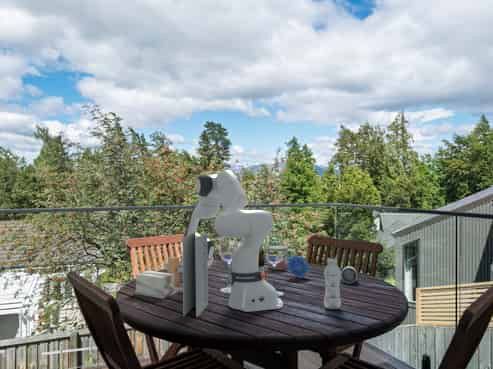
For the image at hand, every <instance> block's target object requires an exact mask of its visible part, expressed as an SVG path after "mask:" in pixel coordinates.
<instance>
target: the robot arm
mask: <svg viewBox="0 0 493 369" xmlns="http://www.w3.org/2000/svg"><path fill="white" fill-rule="evenodd" d="M194 185H195V186H194V187H195V192H196V193H197V195H198V196H199V197H198V202H197V205H196V206H194V207H193V208H192V210H191V212H190V215H189V219H188V222H187V226H186V228H185V229H186V230H185V231H184V234H183V237H185V236H187V235H190V234H192V233H195V234H196V237H198V236H201V235H202V234H200V233H198V231H197V230H198V227H199V223H200V220H208V219H209V220H210V219H212V218H215V219H214V222H213V223H214V224H213V225H214V231H215V233H216V234H217V235H218V236H219V237H221V238H227V239H237V238H238V239H239V238H242V242H241V243H240V244H239V245H238V246H237V247H234V248H233V249H232V252H231V270H230V277H229V278H230V279H229V280H230V285H231V287H230V296H229V300H228V307H229V308H232V309H233V310H240V311H243V312H246V313H248V312H258V311H267V310H277V309H283V307H284V303H283V300H282V299H281V298H280V297H278V293H277V289H276V288H275V287H274V286H273V285H271V284H270V283H269V282H268V281H266V280H265V278H266V274H265V272H264V271H262V270H260V269H259V261H260V260H259V258H260V250H261V247H262V244H263V242H264V240H265V239H266V237H268V235H269V234H271V232H272V231H273V228H274V224H275V221H274V217H273V215H272V213H270V212H269V211H267V210H261V209H252V210H251V209H250V210H249V209H247V210H244V208H245V207H246V205H247V203H248V196H247V194H246V192H245V189H244V188H243V186H242V181H241V179H240V178H239V176H238V175H237V174H235V173H234V172H233V171H231V170H227V169H224V170H221V171H220V172H218V173H210V174H200V175H199V176H198V177H196V179H195V184H194ZM221 205H222V209H221V212H220V208H221ZM181 241H182V244H183V240H182V239H181ZM207 245H208V268H209V267H210V266H212V265H213V263H214V255H215V251H216V245H215V242H214V240H213V239H210V238H209V237H207ZM163 265H164V266H163V267H164V270H167V272H168V261H165V262H164V263H163ZM176 272H179V273H183V259H182V260H179V268H176Z"/></svg>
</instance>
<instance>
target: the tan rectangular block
mask: <svg viewBox="0 0 493 369" xmlns="http://www.w3.org/2000/svg"><path fill="white" fill-rule="evenodd" d="M179 261H180V257H179V256H170V257H167V262H168V271H167V273H170V274H174V286H175V285H178V284H179V282H180V272H176V268H179Z"/></svg>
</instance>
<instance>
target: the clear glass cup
mask: <svg viewBox="0 0 493 369" xmlns="http://www.w3.org/2000/svg"><path fill="white" fill-rule="evenodd" d="M267 248H268V252H269V251H283V252H284V255H285V258H284V260H283V261H282V262H281V263H279V264H278V265H277V266H276V267H273V266H271V265H269V264H268V269H270V268H271V270H286V269H289V268H288V267H287V264H288V263H289V261H288V259H289V258H288V249H289V248H288V245H286V246H285V245H269V246H267Z"/></svg>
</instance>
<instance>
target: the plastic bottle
mask: <svg viewBox="0 0 493 369" xmlns="http://www.w3.org/2000/svg"><path fill="white" fill-rule="evenodd" d="M326 259H327V262H326V263H327V265H326V267H325V268H324V270H323V276H324V283H325V288H324V291H325V292H324V297H323V305H324V307H325V308H326V309H327V310H338V309H340V307H341V305H342V299H341V294H340V293H341V292H340V282H341V280H340V276H341V273H342V271H341V269H340V267H339V265H338V259H337V257H327V258H326Z"/></svg>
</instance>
